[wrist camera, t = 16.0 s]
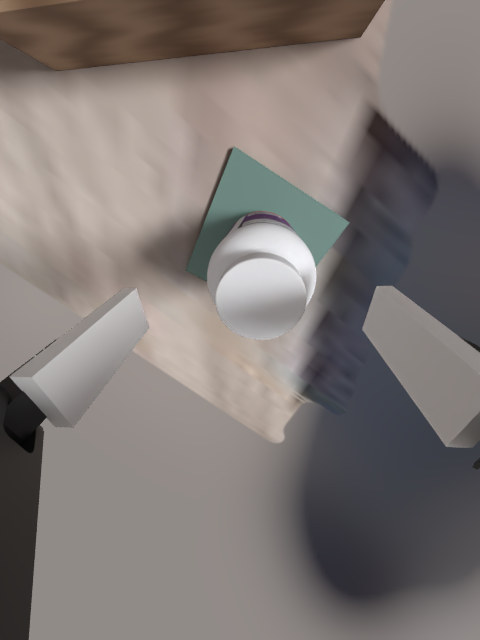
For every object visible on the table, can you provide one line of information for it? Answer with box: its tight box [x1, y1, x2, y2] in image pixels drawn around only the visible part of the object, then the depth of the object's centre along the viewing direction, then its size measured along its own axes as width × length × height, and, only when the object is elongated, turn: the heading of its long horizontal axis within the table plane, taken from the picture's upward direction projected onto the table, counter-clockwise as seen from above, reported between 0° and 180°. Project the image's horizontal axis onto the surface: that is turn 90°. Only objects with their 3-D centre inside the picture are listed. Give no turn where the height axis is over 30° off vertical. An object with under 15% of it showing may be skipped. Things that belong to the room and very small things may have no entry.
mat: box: [186, 147, 349, 281], centre depth 25 cm, size 14×14×1 cm
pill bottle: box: [207, 211, 316, 340], centre depth 19 cm, size 8×8×14 cm
